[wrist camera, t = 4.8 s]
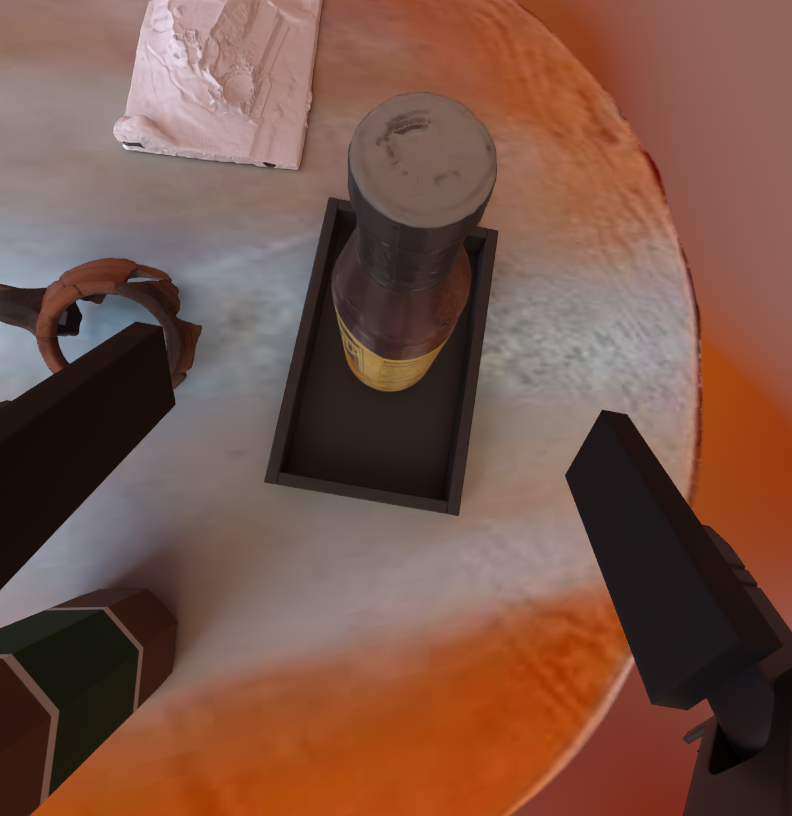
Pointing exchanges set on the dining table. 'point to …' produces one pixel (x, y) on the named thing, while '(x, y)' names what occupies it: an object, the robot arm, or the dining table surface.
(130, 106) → the terrain model
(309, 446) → the tray
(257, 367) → the dining table surface
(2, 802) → the beer bottle
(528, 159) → the dining table surface
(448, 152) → the sauce bottle
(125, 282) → the brown broken pot
